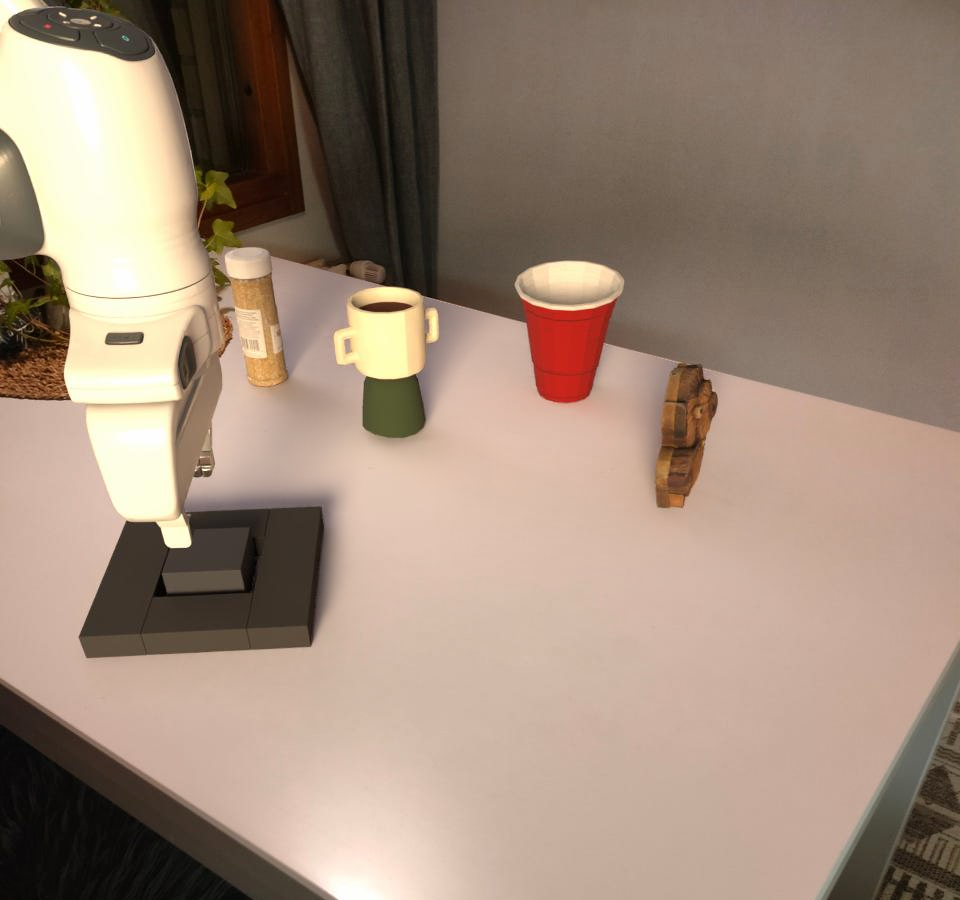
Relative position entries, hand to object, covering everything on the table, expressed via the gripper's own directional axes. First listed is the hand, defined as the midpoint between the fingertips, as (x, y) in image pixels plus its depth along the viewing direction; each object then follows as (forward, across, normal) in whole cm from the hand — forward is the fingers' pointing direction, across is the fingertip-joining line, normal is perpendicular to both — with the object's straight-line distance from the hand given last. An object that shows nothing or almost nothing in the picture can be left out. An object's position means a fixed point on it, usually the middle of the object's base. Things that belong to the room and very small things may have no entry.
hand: (192, 505), depth 67 cm
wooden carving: (+7, -13, +40) cm, 43 cm away
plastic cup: (+7, -32, +32) cm, 46 cm away
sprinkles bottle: (+8, -38, 0) cm, 39 cm away
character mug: (+8, -25, +14) cm, 30 cm away
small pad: (+7, 0, 0) cm, 7 cm away
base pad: (+7, 0, 0) cm, 7 cm away
